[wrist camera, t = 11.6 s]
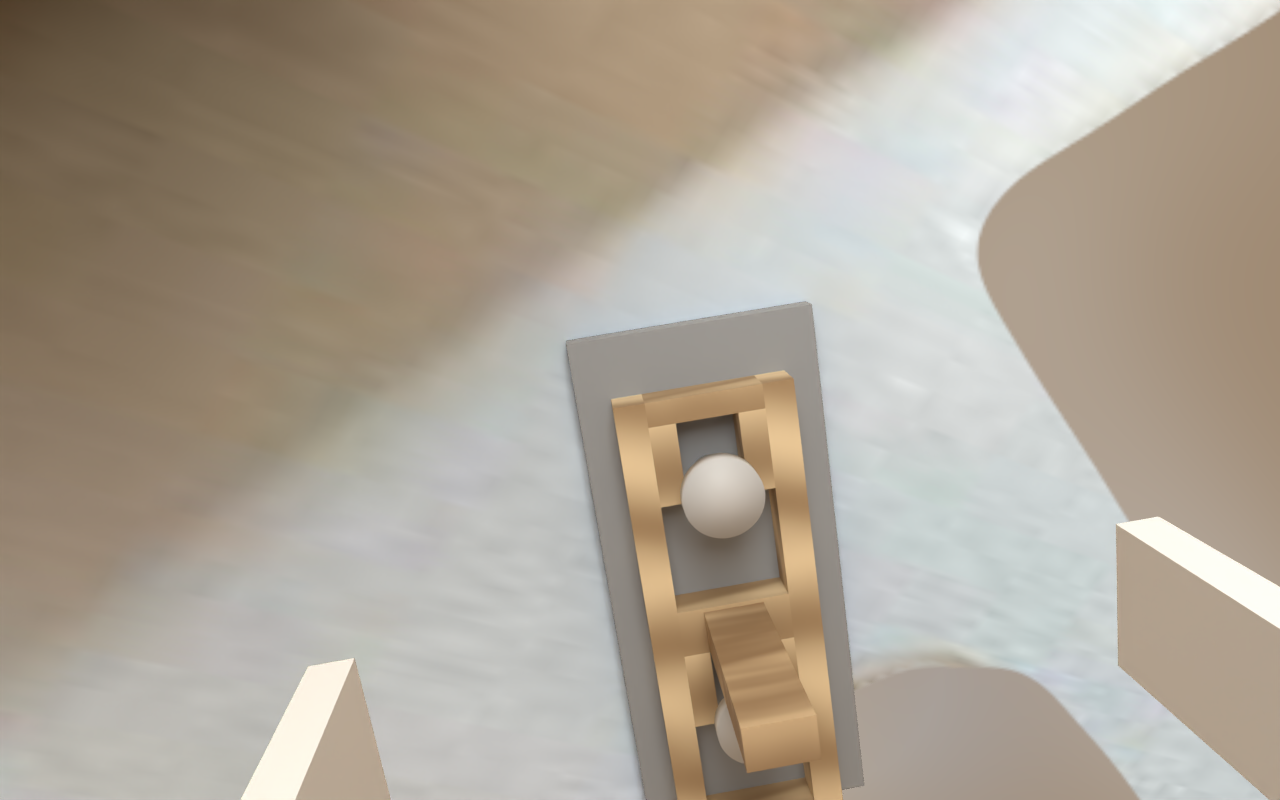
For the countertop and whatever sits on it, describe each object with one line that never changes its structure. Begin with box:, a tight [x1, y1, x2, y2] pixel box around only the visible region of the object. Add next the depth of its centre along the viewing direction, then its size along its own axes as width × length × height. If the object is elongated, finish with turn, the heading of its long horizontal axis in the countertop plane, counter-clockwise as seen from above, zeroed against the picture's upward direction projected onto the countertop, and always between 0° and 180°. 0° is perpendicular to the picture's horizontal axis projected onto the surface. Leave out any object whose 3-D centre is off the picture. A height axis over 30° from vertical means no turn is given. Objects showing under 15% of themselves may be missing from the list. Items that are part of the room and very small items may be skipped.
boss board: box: [566, 301, 864, 800], centre depth 46 cm, size 27×12×5 cm, turn 9°
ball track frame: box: [611, 370, 843, 800], centre depth 42 cm, size 24×9×12 cm, turn 9°
